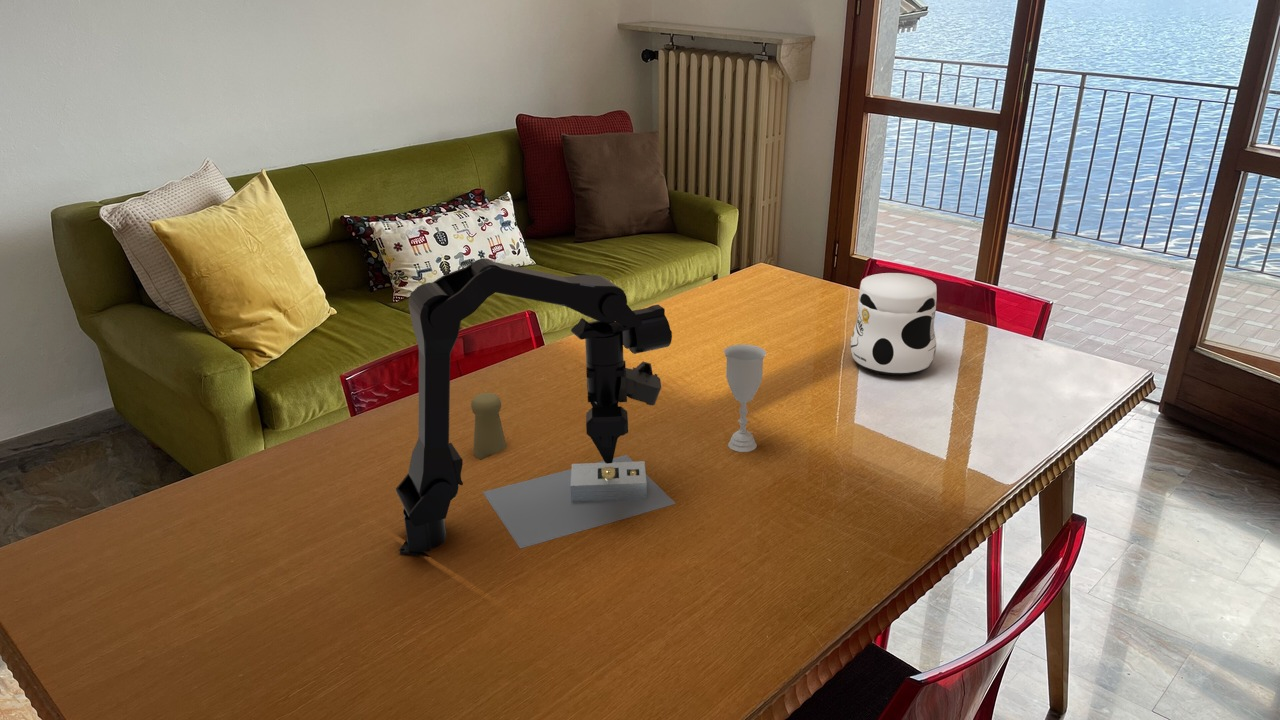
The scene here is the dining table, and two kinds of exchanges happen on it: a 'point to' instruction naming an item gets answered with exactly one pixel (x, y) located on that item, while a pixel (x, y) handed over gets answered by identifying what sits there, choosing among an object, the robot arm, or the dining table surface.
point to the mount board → (562, 507)
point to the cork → (487, 425)
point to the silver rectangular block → (608, 482)
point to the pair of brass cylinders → (612, 473)
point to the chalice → (744, 387)
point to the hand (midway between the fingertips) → (608, 448)
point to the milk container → (895, 324)
